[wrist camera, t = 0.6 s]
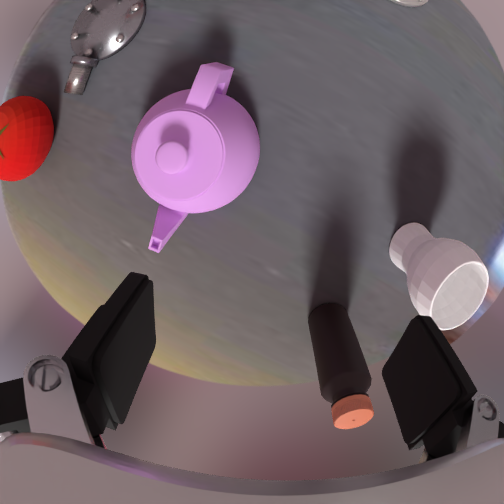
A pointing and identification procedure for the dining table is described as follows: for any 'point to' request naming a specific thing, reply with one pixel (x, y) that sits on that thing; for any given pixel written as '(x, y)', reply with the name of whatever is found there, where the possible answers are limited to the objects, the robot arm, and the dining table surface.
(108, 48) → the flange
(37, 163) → the tomato
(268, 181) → the dining table surface
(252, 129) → the teapot
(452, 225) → the dining table surface
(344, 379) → the bottle
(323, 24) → the dining table surface
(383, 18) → the dining table surface
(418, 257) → the cup
